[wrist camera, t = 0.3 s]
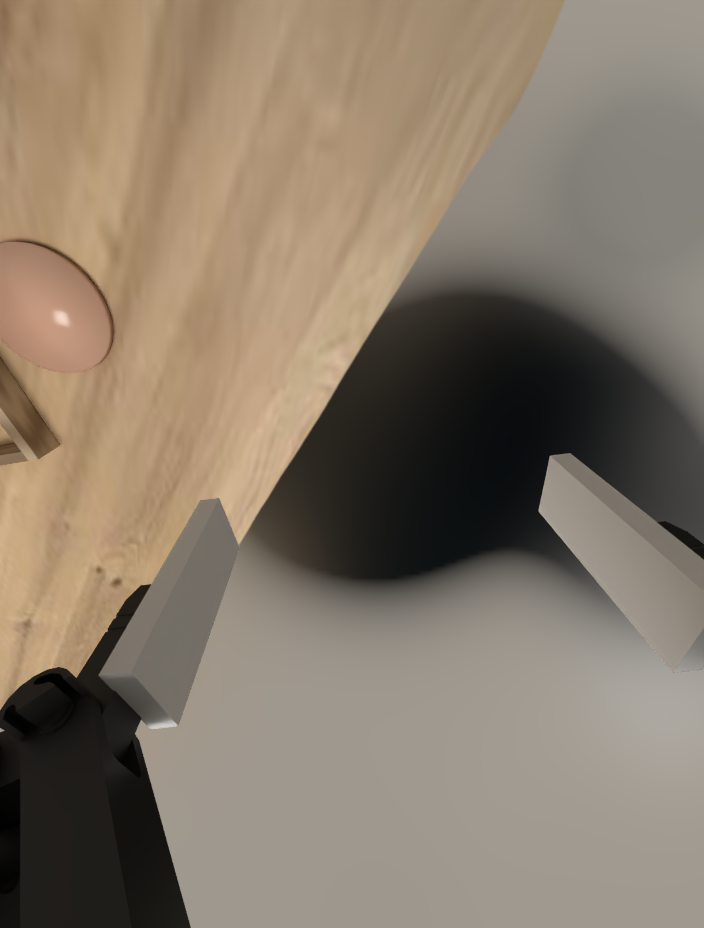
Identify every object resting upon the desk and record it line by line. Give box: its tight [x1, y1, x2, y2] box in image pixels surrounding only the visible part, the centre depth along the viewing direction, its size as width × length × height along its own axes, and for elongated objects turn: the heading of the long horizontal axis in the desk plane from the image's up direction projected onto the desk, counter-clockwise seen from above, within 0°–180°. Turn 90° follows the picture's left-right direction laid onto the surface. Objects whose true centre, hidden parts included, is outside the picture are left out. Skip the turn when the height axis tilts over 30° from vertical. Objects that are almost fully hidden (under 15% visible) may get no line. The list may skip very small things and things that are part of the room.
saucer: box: [0, 242, 113, 373], centre depth 34 cm, size 12×12×1 cm
